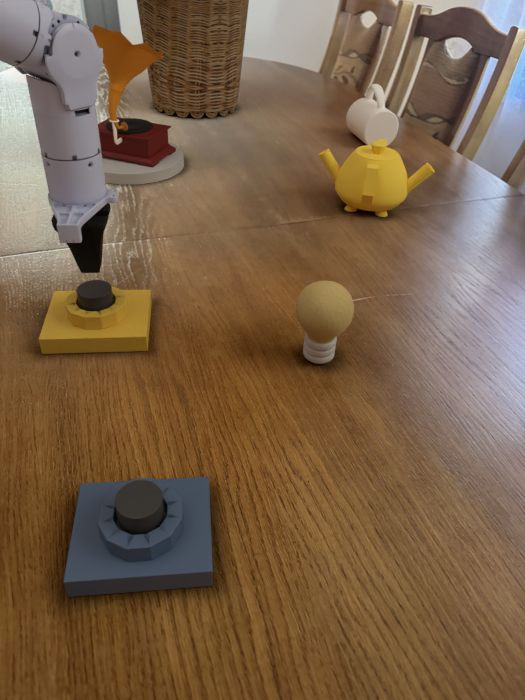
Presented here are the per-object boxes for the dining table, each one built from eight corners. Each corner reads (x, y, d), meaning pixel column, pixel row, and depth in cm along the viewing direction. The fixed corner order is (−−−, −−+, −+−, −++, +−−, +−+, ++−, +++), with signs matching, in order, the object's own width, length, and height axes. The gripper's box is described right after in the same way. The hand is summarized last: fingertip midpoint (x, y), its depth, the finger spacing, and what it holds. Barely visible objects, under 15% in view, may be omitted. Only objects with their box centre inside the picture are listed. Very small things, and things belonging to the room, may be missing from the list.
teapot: (426, 195, 106) (441, 135, 99) (421, 236, 92) (438, 170, 85) (322, 178, 109) (329, 119, 102) (303, 216, 96) (309, 151, 89)
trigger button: (76, 313, 65) (73, 298, 64) (81, 294, 68) (78, 279, 67) (111, 312, 65) (109, 297, 64) (115, 293, 69) (113, 279, 67)
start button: (115, 536, 43) (112, 520, 42) (119, 496, 46) (117, 481, 44) (163, 532, 43) (161, 517, 42) (164, 494, 46) (163, 478, 45)
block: (67, 597, 43) (58, 569, 40) (84, 498, 50) (77, 469, 47) (213, 586, 44) (212, 558, 41) (209, 491, 51) (208, 462, 48)
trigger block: (41, 354, 64) (34, 326, 62) (57, 305, 72) (51, 278, 70) (147, 351, 66) (145, 323, 63) (151, 303, 74) (149, 277, 71)
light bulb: (282, 345, 68) (289, 274, 62) (330, 336, 70) (341, 266, 64) (304, 379, 63) (313, 306, 57) (354, 368, 65) (368, 296, 59)
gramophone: (154, 192, 101) (142, 35, 85) (56, 173, 105) (27, 20, 90) (200, 155, 116) (198, 16, 100) (113, 140, 121) (97, 5, 105)
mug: (361, 150, 123) (370, 92, 116) (343, 135, 131) (351, 79, 123) (395, 148, 125) (406, 91, 118) (375, 133, 133) (385, 78, 125)
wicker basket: (141, 84, 157) (129, -64, 136) (266, 92, 157) (273, -54, 136) (109, 123, 129) (89, -54, 108) (261, 132, 129) (269, -43, 108)
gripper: (104, 179, 50) (121, 305, 59) (119, 127, 61) (131, 239, 70) (22, 179, 49) (51, 306, 58) (52, 126, 61) (73, 239, 69)
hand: (91, 269), depth 64 cm, fingers closed
